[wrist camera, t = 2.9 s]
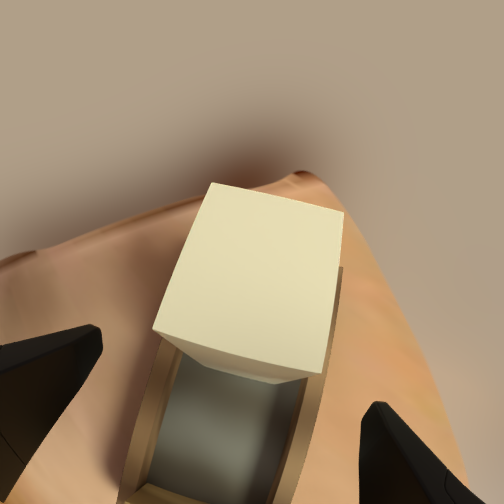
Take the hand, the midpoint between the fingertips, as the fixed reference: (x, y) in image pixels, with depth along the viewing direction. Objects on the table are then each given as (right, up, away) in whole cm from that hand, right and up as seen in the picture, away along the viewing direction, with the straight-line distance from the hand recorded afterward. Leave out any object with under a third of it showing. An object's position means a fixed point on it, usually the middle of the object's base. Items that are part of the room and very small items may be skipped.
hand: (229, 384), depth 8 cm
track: (-1, -6, +9) cm, 10 cm away
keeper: (+1, -1, +9) cm, 9 cm away
